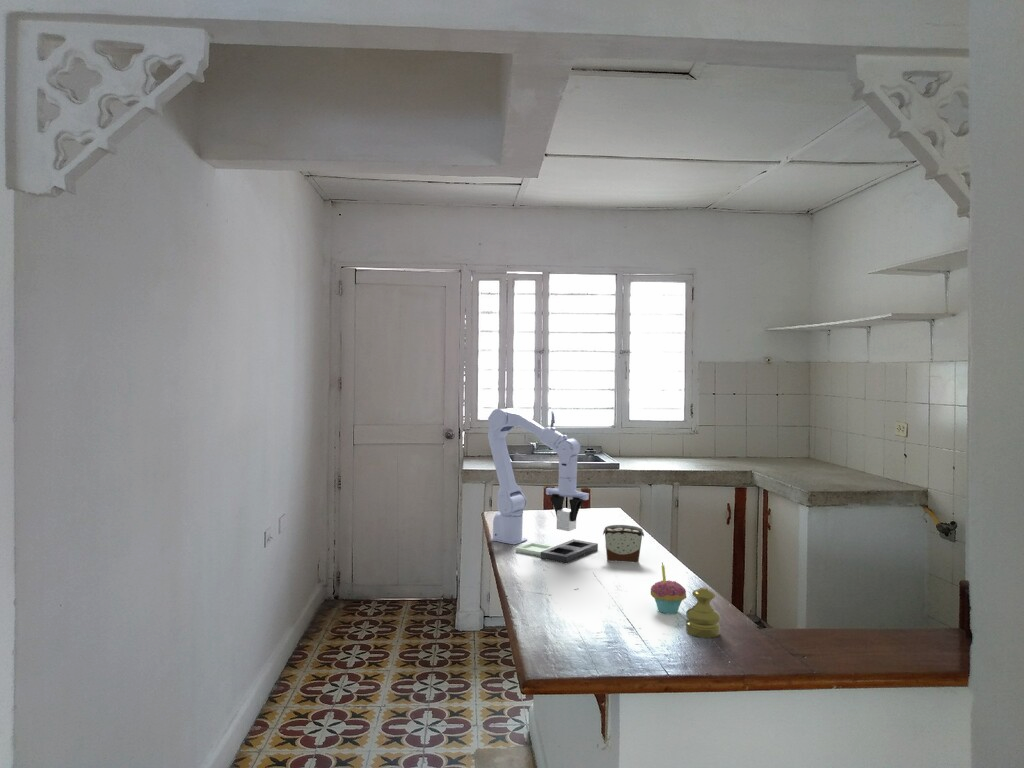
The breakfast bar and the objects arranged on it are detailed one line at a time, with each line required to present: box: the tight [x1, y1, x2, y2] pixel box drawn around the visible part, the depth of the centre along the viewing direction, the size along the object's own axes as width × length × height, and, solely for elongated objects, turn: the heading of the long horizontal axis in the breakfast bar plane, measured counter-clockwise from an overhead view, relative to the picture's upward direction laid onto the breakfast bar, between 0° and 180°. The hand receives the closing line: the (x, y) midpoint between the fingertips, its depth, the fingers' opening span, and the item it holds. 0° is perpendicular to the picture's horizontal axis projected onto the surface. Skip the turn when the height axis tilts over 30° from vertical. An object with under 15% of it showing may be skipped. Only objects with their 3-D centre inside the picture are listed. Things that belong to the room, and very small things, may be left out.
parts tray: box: [515, 541, 556, 557], centre depth 230 cm, size 9×9×1 cm
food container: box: [602, 524, 645, 564], centre depth 223 cm, size 12×6×10 cm, turn 84°
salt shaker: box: [685, 586, 722, 639], centre depth 163 cm, size 7×7×10 cm
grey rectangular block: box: [556, 507, 577, 532], centre depth 232 cm, size 4×4×6 cm
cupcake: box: [650, 562, 687, 615], centre depth 178 cm, size 9×8×12 cm
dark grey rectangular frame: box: [540, 538, 599, 564], centre depth 228 cm, size 9×20×2 cm, turn 146°
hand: (566, 519), depth 232 cm, fingers closed on grey rectangular block, 4 cm apart
